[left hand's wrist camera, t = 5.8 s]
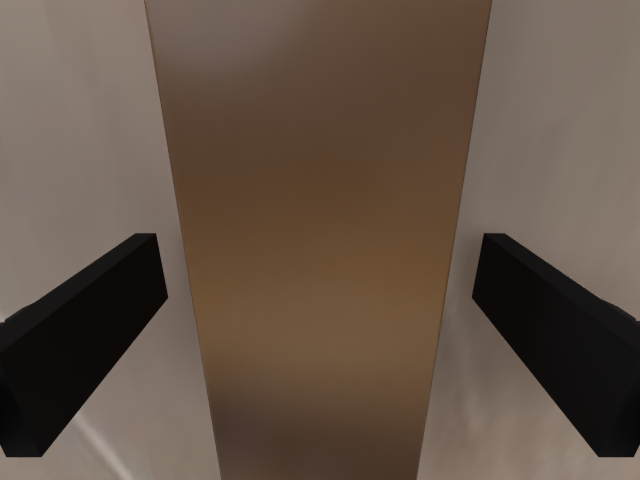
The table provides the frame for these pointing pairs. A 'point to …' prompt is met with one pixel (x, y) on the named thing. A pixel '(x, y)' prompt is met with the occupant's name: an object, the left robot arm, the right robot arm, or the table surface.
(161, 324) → the table surface
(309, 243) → the brown wooden bar
